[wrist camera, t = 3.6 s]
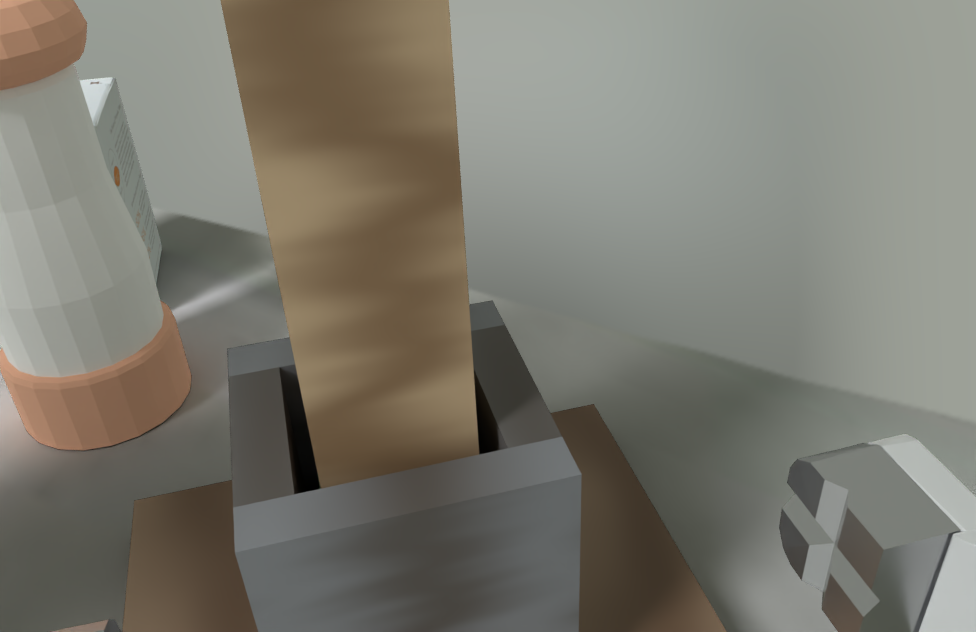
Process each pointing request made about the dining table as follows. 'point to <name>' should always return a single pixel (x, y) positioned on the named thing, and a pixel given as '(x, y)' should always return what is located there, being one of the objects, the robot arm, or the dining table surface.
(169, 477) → the dining table surface
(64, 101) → the pepper shaker
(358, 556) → the sleeve stand
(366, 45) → the oak post
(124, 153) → the small box
